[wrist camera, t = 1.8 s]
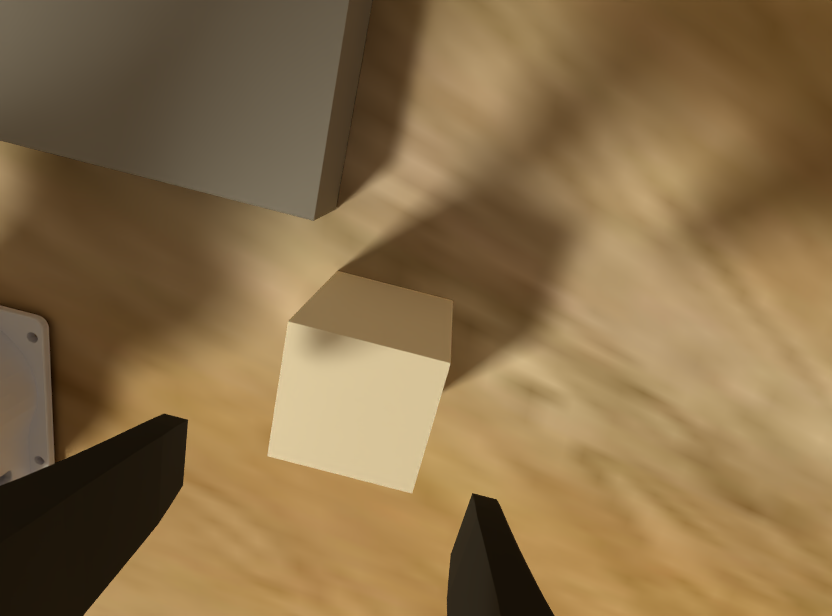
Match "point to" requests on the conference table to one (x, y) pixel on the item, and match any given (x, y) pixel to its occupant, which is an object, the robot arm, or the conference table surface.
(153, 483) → the robot arm
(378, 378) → the cream block
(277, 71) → the gray plinth
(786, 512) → the conference table surface
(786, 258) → the conference table surface
